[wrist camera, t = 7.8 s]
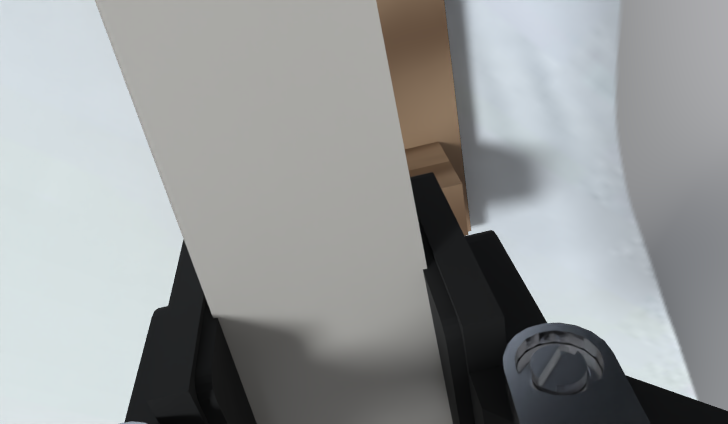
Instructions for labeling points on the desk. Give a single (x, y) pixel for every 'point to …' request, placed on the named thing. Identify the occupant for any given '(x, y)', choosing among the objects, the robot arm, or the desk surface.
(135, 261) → the desk surface
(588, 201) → the desk surface
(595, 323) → the desk surface
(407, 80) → the wooden pegged board
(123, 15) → the clay strip
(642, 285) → the desk surface
